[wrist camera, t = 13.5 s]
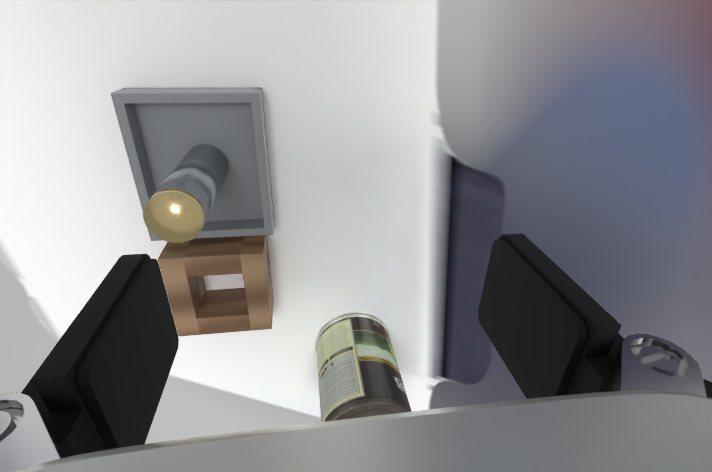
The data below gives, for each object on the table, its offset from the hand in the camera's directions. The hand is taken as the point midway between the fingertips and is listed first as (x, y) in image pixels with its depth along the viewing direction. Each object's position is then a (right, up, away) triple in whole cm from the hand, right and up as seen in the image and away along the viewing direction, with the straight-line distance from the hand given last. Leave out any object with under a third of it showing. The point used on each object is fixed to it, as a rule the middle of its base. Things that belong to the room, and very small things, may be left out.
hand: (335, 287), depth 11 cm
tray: (-14, +9, +28) cm, 32 cm away
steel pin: (-14, +8, +27) cm, 32 cm away
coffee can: (0, -13, +43) cm, 44 cm away
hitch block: (-15, -3, +34) cm, 37 cm away
